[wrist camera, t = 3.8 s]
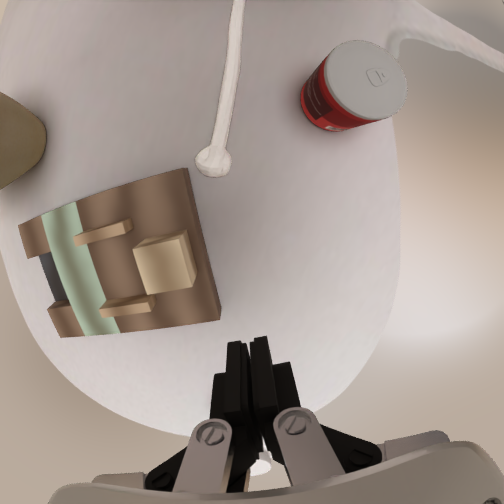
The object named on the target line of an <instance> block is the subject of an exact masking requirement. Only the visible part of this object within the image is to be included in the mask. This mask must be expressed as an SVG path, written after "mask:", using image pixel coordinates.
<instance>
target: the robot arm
mask: <svg viewBox="0 0 504 504" xmlns="http://www.w3.org/2000/svg"><path fill="white" fill-rule="evenodd" d="M250 358H251V359H250ZM263 439H264V442H265V445H266V448H267V451H270V452H271V455H272V458H273V460H275V461H277V462H278V463H280V464H282V465H284V468H285V471H286V473H287V476H288V479H289V482H290V484H291V487H285V488H278V489H271V490H262V491H252V492H248V486H249V479H250V473H251V471H250V467H251V466H252V465H253V464H254V463H256V460H259V453H260V452H264V448H263ZM48 504H504V475H503V474H502V472H501V471H500V469H499V468H498V466H497V465H496V463H495V462H494V461H493V459H492V458H491V457H490V456H489V454H488V453H487V452H486V451H485V450H484V449H483V448H481V447H480V446H479V445H477V444H475V443H473V442H469V441H453V442H450V440H449V438H448V436H447V435H446V434H445V433H444V432H442V431H438V430H435V431H429V432H425V433H421V434H417V435H413V436H408V437H404V438H399V439H394V440H388V441H385V442H384V443H383V444H377V445H375V444H373V443H371V442H368V441H365V440H362V439H359V438H356V437H353V436H351V435H348V434H344V433H342V432H339V431H337V430H334V429H331V428H328V427H326V426H324V425H321V424H319V422H318V420H317V418H316V416H315V415H314V414H313V412H312V411H310V410H309V409H306V408H303V407H301V405H300V401H299V397H298V392H297V388H296V384H295V380H294V376H293V372H292V368H291V364H290V362H285V363H280V364H275V365H273V364H272V359H271V354H270V349H269V344H268V340H267V336H263V337H257V338H254V342H250V356H249V352H248V348H247V344H246V343H241V341H234V342H228V344H227V360H226V372H225V373H217V374H215V375H214V380H213V389H212V399H211V409H210V419H208V420H205V421H203V422H201V423H199V424H198V425H197V426H196V427H195V428H194V430H193V432H192V434H191V437H190V440H189V444H188V446H187V447H185V448H184V449H183V450H181V451H180V452H178V453H177V454H175V455H174V456H173V457H171V458H170V459H168V460H167V461H165V462H164V463H162V464H161V465H159V466H158V467H156V468H155V469H153V470H152V471H151V472H149V473H148V474H144V473H143V472H138V473H124V474H103V475H99V476H97V477H95V478H94V480H93V481H92V483H76V484H70V485H66V486H63V487H61V488H59V489H58V490H57V491H56V492H55V493H54V494H53V495H52V497H51V499H50V501H49V502H48Z"/></svg>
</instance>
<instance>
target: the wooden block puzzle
mask: <svg viewBox="0 0 504 504" xmlns="http://www.w3.org/2000/svg"><path fill="white" fill-rule="evenodd" d="M18 228H19V231H20V235H21V239H22V242H23V246H24V249H25V252H26V255H27V258H28V259H29V258H32V257H35V256H38V255H39V258H40V261H41V264H42V267H43V270H44V272H45V275H46V278H47V281H48V283H49V286H50V288H51V291H52V293H53V296H54V298H55V301H56V302H55V303H53V304H52V305H51V306H50V307H49V308H48V309H47V310H48V313H49V315H50V317H51V319H52V321H53V323H54V326H55V328H56V330H57V332H58V334H59V336H60V338H64V337H80V336H93V335H105V334H116V333H126V332H135V331H144V330H153V329H161V328H168V327H176V326H183V325H190V324H197V323H203V322H210V321H216V320H220V316H221V304H220V301H219V297H218V293H217V290H216V286H215V282H214V278H213V274H212V271H211V267H210V263H209V259H208V255H207V251H206V247H205V243H204V239H203V235H202V230H201V226H200V222H199V218H198V213H197V209H196V205H195V200H194V196H193V191H192V187H191V182H190V178H189V173H188V168H181V169H177V170H173V171H170V172H166V173H162V174H159V175H155V176H151V177H148V178H145V179H141V180H138V181H134V182H131V183H128V184H125V185H122V186H119V187H115V188H112V189H109V190H106V191H103V192H101V193H98V194H95V195H92V196H89V197H86V198H84V199H81V200H78V201H76V202H73V203H70V204H68V205H65V206H63V207H60V208H58V209H55V210H53V211H50V212H48V213H45V214H43V215H41V216H38V217H36V218H34V219H31V220H29V221H27V222H25V223H23V224H20V225H18ZM182 230H187V233H188V237H189V241H190V245H191V249H192V252H193V256H194V260H195V264H196V267H197V271H198V273H197V276H196V278H195V281H194V284H193V286H192V287H190V288H184V289H178V290H173V291H167V292H161V293H155V294H149V295H147V293H146V290H145V287H144V284H143V281H142V278H141V275H140V272H139V269H138V266H137V263H136V260H135V256H134V253H133V250H132V249H133V248H135V247H136V246H137V245H138V244H139V243H141V242H142V241H143V240H144V239H147V238H151V237H156V236H160V235H164V234H169V233H173V232H178V231H182Z"/></svg>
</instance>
